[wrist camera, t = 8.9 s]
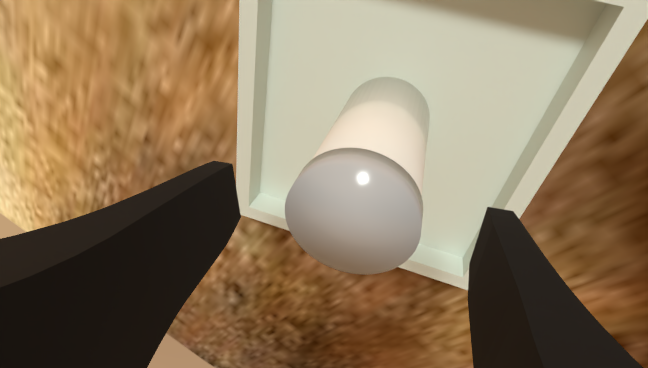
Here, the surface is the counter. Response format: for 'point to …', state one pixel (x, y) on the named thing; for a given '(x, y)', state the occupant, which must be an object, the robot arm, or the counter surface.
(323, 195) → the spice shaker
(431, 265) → the tray
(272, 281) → the counter surface
